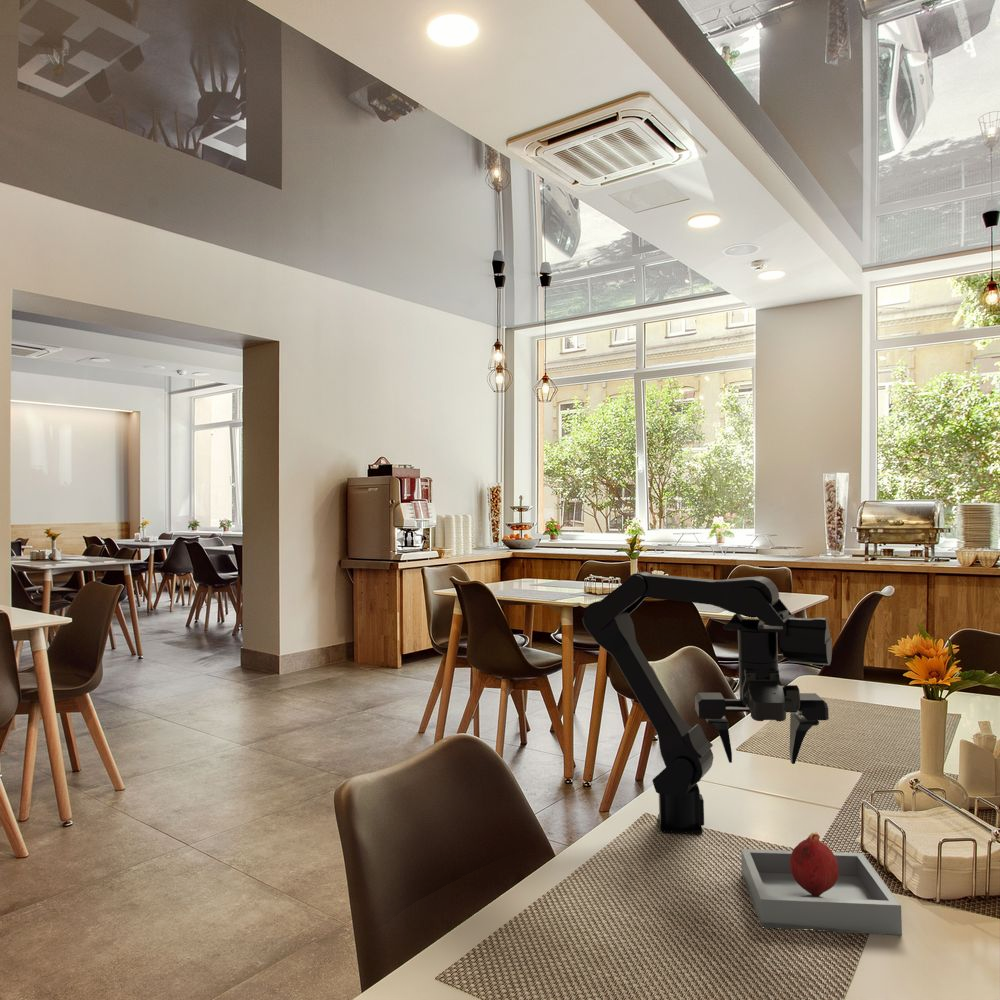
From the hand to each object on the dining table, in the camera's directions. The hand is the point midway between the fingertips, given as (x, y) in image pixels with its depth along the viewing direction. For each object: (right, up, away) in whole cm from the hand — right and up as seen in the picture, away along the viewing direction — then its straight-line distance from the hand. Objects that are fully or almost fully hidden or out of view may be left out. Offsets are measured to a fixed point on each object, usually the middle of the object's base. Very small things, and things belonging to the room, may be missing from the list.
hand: (761, 762), depth 118 cm
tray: (+1, -12, -18) cm, 22 cm away
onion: (+1, -11, -18) cm, 21 cm away
